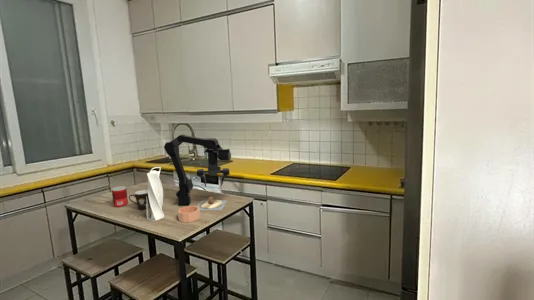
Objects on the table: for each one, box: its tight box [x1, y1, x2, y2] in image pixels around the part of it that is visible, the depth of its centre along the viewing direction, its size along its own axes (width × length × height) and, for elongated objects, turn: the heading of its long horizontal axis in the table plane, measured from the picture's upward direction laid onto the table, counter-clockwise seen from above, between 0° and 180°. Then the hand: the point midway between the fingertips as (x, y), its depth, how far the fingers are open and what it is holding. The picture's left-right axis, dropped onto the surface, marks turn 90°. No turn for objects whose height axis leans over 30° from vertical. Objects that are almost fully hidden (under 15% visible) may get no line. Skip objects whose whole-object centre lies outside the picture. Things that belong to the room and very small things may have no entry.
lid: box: [199, 195, 222, 209], centre depth 174 cm, size 13×13×5 cm
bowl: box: [177, 205, 201, 224], centre depth 156 cm, size 11×11×5 cm
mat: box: [197, 199, 228, 211], centre depth 174 cm, size 16×16×1 cm
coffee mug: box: [128, 189, 151, 211], centre depth 173 cm, size 12×9×10 cm
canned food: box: [111, 185, 129, 208], centre depth 179 cm, size 8×8×11 cm
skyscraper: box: [145, 166, 165, 223], centre depth 156 cm, size 8×8×28 cm
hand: (213, 186), depth 173 cm, fingers open, 9 cm apart
